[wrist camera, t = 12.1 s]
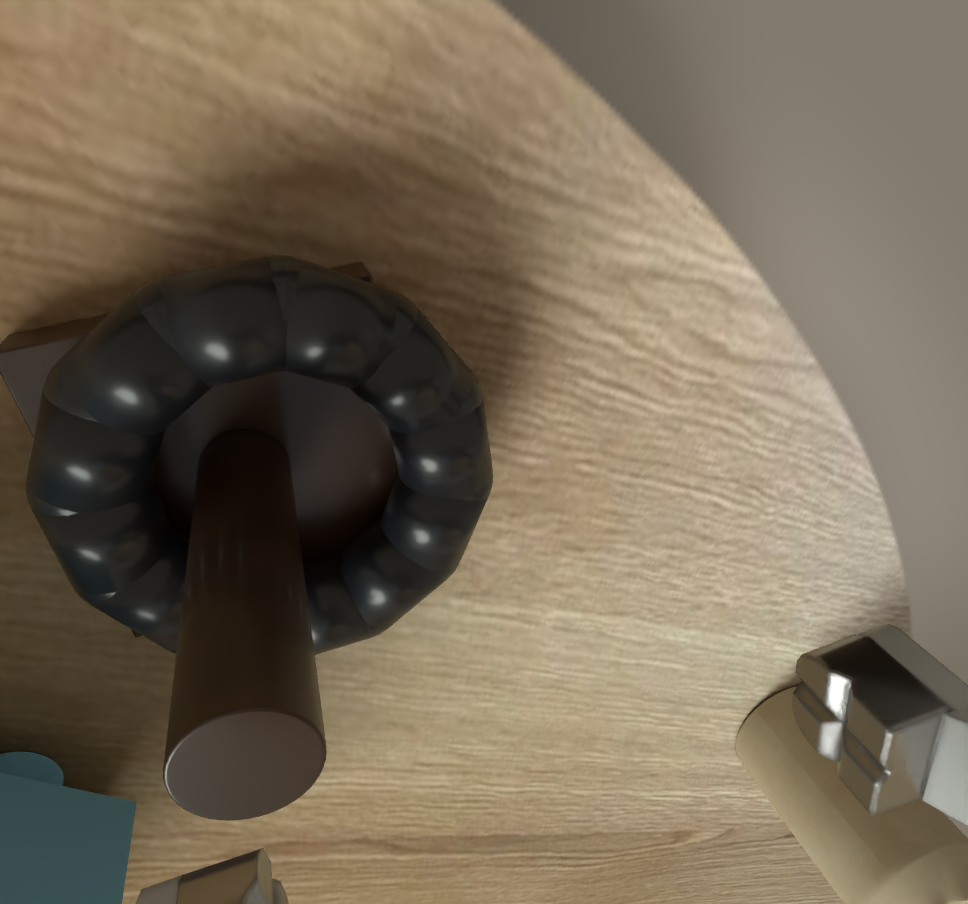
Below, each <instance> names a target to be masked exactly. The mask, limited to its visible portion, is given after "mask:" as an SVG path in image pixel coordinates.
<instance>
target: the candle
mask: <svg viewBox="0 0 968 904" xmlns="http://www.w3.org/2000/svg"><path fill="white" fill-rule="evenodd" d="M797 687H798V686H796V687H792V688H789V689H786V690H784V691H782V692H779V693H777V694H776V695H774V696H772V697H771V698H769V699H767V700H766V701H765V702H763V703H762V704H761V705H760V706H759V707H757V708H756V709H755V710H754V711H753V712H752V713H751V714H750V716H749V717H748V718H747V719H746V721H745V722H744V724H743V725H742V727H741V729H740V731H739V733H738V735H737V739H736V745H735V747H736V753H737V756H738V758H739V760H740V761H741V763H742V765H743V766H744V767H745V769H746V770H747V772H748V773H749V775H750V776H751V777H752V779H753V780H754V781H755V783H756V784H757V786H758V787H759V788H760V790H761V791H762V792H763V794H764V795H765V796H766V798H767V799H768V800H769V802H770V803H771V805H772V806H773V807H774V809H775V810H776V811H777V813H778V814H779V815H780V817H781V818H782V819H783V821H784V822H785V824H786V825H787V826H788V828H789V829H790V830H791V832H792V833H793V834H794V836H795V837H796V838H797V840H798V841H799V843H800V844H801V845H802V847H803V848H804V849H805V851H806V852H807V853H808V855H809V856H810V857H811V859H812V860H813V862H814V863H815V864H816V866H817V867H818V868H819V870H820V871H821V872H822V874H823V875H824V877H825V878H826V879H827V881H828V882H829V883H830V885H831V886H832V887H833V889H834V890H835V891H836V893H837V894H838V896H839V897H840V898H841V900H842V901H843V902H844V904H968V838H967V837H966V836H965V835H964V834H963V833H962V832H961V831H960V830H959V829H958V828H957V827H956V826H955V825H954V824H953V822H952V821H951V820H950V819H949V818H948V817H947V816H946V815H945V814H944V813H943V812H942V811H940V810H938V809H936V808H935V807H933V806H931V805H929V804H927V803H926V802H924V801H922V800H923V797H921V798H919V799H916V800H913V801H911V802H908V803H906V804H903V805H900V806H898V807H895V808H892V809H890V810H887V811H884V812H882V813H879V814H876V815H874V816H871V815H870V813H869V812H868V811H867V810H866V809H865V808H864V807H863V805H862V804H861V803H860V802H859V801H858V800H857V798H856V797H855V796H854V795H853V794H852V793H851V792H850V790H849V789H848V788H847V787H846V786H845V785H844V784H843V782H842V781H841V780H840V779H839V777H838V768H837V762H836V761H834V760H831V759H829V758H827V757H825V756H823V755H820V754H818V753H817V752H816V751H815V750H814V748H813V747H812V746H811V745H810V744H809V742H808V741H807V740H806V739H805V737H804V735H803V734H802V732H801V730H800V729H799V727H798V725H797V722H796V719H795V716H794V713H793V710H792V702H793V692H794V691H795V690H796V688H797Z"/></svg>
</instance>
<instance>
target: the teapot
mask: <svg viewBox="0 0 968 904" xmlns="http://www.w3.org/2000/svg"><path fill="white" fill-rule="evenodd" d="M63 781H64V776H63V772H62V770H61V768H60V767H59V766H58V764H57V763H55V762H54V761H53V760H52V759H50V758H48V757H46V756H43V755H40V754H37V753H31V752H8V753H3V754H0V904H122V898H123V891H124V884H125V878H126V871H127V864H128V857H129V850H130V843H131V836H132V829H133V823H134V816H135V809H136V802H134V801H130V800H125V799H121V798H116V797H112V796H107V795H102V794H98V793H93V792H88V791H84V790H79V789H74V788H70V787H65V786H63Z"/></svg>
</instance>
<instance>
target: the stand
mask: <svg viewBox="0 0 968 904" xmlns="http://www.w3.org/2000/svg"><path fill="white" fill-rule="evenodd" d="M329 269H331V270H334V271H337V272H340V273H343V274H346V275H349V276H352V277H355V278H358V279H361V280H364V281H367V282H370V283H373V281H372V276H371V274H370V273H369V271H368V270H367V268H366V267H365V265H364V264H363V262H357V263H353V264H348V265H343V266H338V267H333V268H329ZM108 315H109V314H106V315H101V316H97V317H92V318H87V319H82V320H77V321H72V322H68V323H63V324H58V325H53V326H48V327H43V328H39V329H34V330H29V331H24V332H19V333H14V334H10V335H8V336H7V337H6V338H5V340H4V341H3V342H2V343H1V344H0V373H1V375H2V377H3V379H4V381H5V383H6V385H7V387H8V388H9V390H10V392H11V394H12V396H13V398H14V400H15V402H16V404H17V406H18V408H19V410H20V412H21V414H22V416H23V418H24V420H25V422H26V424H27V426H28V428H29V430H30V432H31V434H32V436H33V438H34V435H35V430H36V424H37V419H38V413H39V408H40V403H41V397H42V392H43V387H44V384H45V381H46V378H47V376H48V374H49V372H50V370H51V369H52V367H53V366H54V365H55V364H56V363H57V362H58V360H59V359H60V358H62V357H63V356H64V355H65V354H66V353H67V352H68V351H69V350H70V349H71V348H72V347H74V346H75V345H76V344H77V343H78V342H79V341H80V340H81V339H82V338H83V337H85V336H86V335H87V334H88V333H89V332H90V331H91V330H92V329H93V328H94V327H96V326H97V325H98V324H99V323H100V322H101V321H102V320H103V319H104V318H105V317H106V316H108ZM397 475H398V469H397V464H396V459H395V455H394V450H393V445H392V440H391V436H390V431H389V427H388V426H387V425H386V424H385V423H384V422H383V421H382V420H381V419H380V418H379V417H378V416H377V415H376V414H375V413H374V412H373V411H372V410H371V409H370V408H369V407H368V406H367V405H366V404H365V403H364V402H363V401H362V400H361V399H360V398H359V397H358V396H357V395H356V394H355V393H354V392H353V391H352V390H351V389H350V388H348V387H344V386H340V385H336V384H333V383H329V382H325V381H321V380H318V379H314V378H310V377H306V376H303V375H299V374H295V373H291V372H288V371H280V372H275V373H271V374H266V375H262V376H257V377H253V378H248V379H244V380H239V381H235V382H230V383H226V384H221V385H217V386H213V387H212V388H211V389H210V390H209V391H207V392H206V393H205V394H204V395H203V396H202V397H201V398H200V399H198V400H197V401H196V402H195V403H194V404H193V405H192V406H191V407H189V408H188V409H187V410H186V411H185V412H184V413H183V414H182V415H180V416H179V417H178V418H177V419H176V420H175V421H174V422H173V423H171V424H170V425H169V426H168V427H167V428H166V429H165V432H164V436H163V440H162V444H161V448H160V452H159V455H158V459H157V463H156V467H155V471H154V475H153V479H152V481H153V484H154V486H155V489H156V491H157V494H158V496H159V498H160V501H161V503H162V506H163V508H164V510H165V513H166V515H167V518H168V520H169V522H170V525H171V527H172V529H174V530H175V531H177V532H178V533H180V534H181V535H182V536H184V537H185V538H187V539H188V540H189V547H188V556H187V565H186V574H185V583H184V591H183V600H182V609H181V618H180V626H179V635H178V644H177V653H176V661H175V670H174V679H173V688H172V696H171V705H170V714H169V723H168V731H167V740H166V749H165V758H164V766H163V779H164V784H165V786H166V789H167V791H168V793H169V795H170V796H171V797H172V799H173V800H174V801H175V802H176V803H177V804H178V805H179V806H181V807H182V808H183V809H185V810H187V811H189V812H191V813H193V814H195V815H198V816H201V817H205V818H209V819H216V820H242V819H250V818H254V817H259V816H262V815H266V814H269V813H271V812H274V811H276V810H279V809H281V808H283V807H285V806H287V805H289V804H290V803H292V802H293V801H295V800H296V799H298V798H299V797H300V796H302V795H303V794H304V793H305V792H306V791H307V790H308V789H310V787H311V786H312V785H313V784H314V783H315V781H316V780H317V778H318V777H319V775H320V773H321V771H322V769H323V767H324V763H325V760H326V753H327V751H326V740H325V732H324V725H323V717H322V709H321V701H320V693H319V686H318V678H317V670H316V662H315V654H314V647H313V639H312V631H311V623H310V615H309V608H308V600H307V592H306V584H305V576H304V569H303V564H304V563H307V562H311V561H315V560H318V559H322V558H325V557H329V556H333V555H336V554H339V553H340V552H341V551H343V550H344V549H345V548H346V547H347V546H348V545H350V544H351V543H352V542H353V541H354V540H356V539H357V538H358V537H359V536H360V535H361V534H363V533H364V532H365V531H366V530H367V529H368V528H370V527H371V526H372V525H373V524H374V523H376V522H377V521H378V520H379V519H380V518H381V517H382V514H383V511H384V509H385V506H386V504H387V501H388V498H389V496H390V493H391V491H392V488H393V485H394V483H395V480H396V478H397ZM131 630H132V629H131ZM132 632H133V634H134V636H135V637H140V636H142V635H140V634H139V633H137V632H135V631H134V630H132Z"/></svg>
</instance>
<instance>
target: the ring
mask: <svg viewBox="0 0 968 904" xmlns="http://www.w3.org/2000/svg"><path fill="white" fill-rule="evenodd" d="M280 371H288V372H291V373H295V374H299V375H303V376H306V377H310V378H314V379H318V380H321V381H325V382H329V383H333V384H336V385H340V386H344V387H348V388H350V389H351V390H352V391H353V392H354V393H355V394H356V395H357V396H358V397H359V398H360V399H361V400H362V401H363V402H364V403H365V404H366V405H367V406H368V407H369V408H370V409H371V410H372V411H373V412H374V413H375V414H376V415H377V416H378V417H379V418H380V419H381V420H382V421H383V422H384V423H385V424H386V425H387V426H388V427H389V431H390V436H391V440H392V445H393V450H394V455H395V459H396V464H397V469H398V475H397V478H396V480H395V483H394V485H393V488H392V491H391V493H390V496H389V498H388V501H387V504H386V506H385V509H384V511H383V514H382V517H381V518H380V519H379V520H378V521H377V522H376V523H374V524H373V525H372V526H371V527H370V528H368V529H367V530H366V531H365V532H364V533H363V534H361V535H360V536H359V537H358V538H357V539H356V540H354V541H353V542H352V543H351V544H350V545H348V546H347V547H346V548H345V549H344V550H343V551H341V552H340V553H339V554H336V555H333V556H329V557H325V558H322V559H318V560H315V561H311V562H307V563H304V564H303V569H304V576H305V584H306V592H307V600H308V608H309V615H310V623H311V631H312V639H313V647H314V654H315V655H316V654H319V653H322V652H326V651H329V650H332V649H336V648H339V647H342V646H346V645H349V644H352V643H355V642H359V641H362V640H365V639H369V638H372V637H374V636H377V635H379V634H381V633H382V632H384V631H385V630H387V629H388V628H389V627H390V626H392V625H393V624H394V623H395V622H396V621H398V620H399V619H400V618H401V617H402V616H404V615H405V614H406V613H407V612H408V611H410V610H411V609H412V608H413V607H414V606H416V605H417V604H418V603H419V602H420V601H422V600H423V599H424V598H425V597H426V596H428V595H429V594H430V593H431V592H432V591H434V590H435V589H436V588H437V587H438V586H440V585H441V584H442V583H443V582H444V581H446V580H447V579H448V578H449V577H450V576H451V575H452V574H453V573H454V571H455V570H456V568H457V567H458V565H459V563H460V561H461V558H462V556H463V554H464V551H465V549H466V547H467V545H468V542H469V540H470V538H471V535H472V533H473V531H474V529H475V526H476V524H477V522H478V519H479V517H480V515H481V512H482V510H483V508H484V506H485V503H486V501H487V499H488V496H489V494H490V491H491V488H492V483H493V469H492V461H491V454H490V447H489V439H488V432H487V424H486V417H485V410H484V402H483V395H482V391H481V387H480V385H479V382H478V380H477V378H476V377H475V375H474V374H473V372H472V371H471V370H470V368H469V367H468V366H467V365H466V364H465V363H464V361H463V360H462V359H461V358H460V357H459V356H458V354H457V353H456V352H455V351H454V350H453V349H452V347H451V346H450V345H449V344H448V343H447V342H446V340H445V339H444V338H443V337H442V336H441V335H440V333H439V332H438V331H437V330H436V329H435V328H434V327H433V325H432V324H431V323H430V322H429V321H428V320H427V318H426V317H425V316H424V315H423V314H422V313H421V311H420V310H419V309H418V308H417V307H416V306H415V305H414V304H413V303H412V302H411V301H410V300H409V299H408V298H406V297H404V296H403V295H402V294H400V293H398V292H395V291H393V290H390V289H387V288H384V287H381V286H378V285H376V284H373V283H370V282H367V281H364V280H361V279H358V278H355V277H352V276H349V275H346V274H343V273H340V272H337V271H334V270H331V269H328V268H325V267H322V266H319V265H316V264H313V263H310V262H307V261H304V260H301V259H298V258H294V257H290V256H280V255H279V256H268V257H264V258H258V259H253V260H248V261H242V262H237V263H232V264H227V265H221V266H216V267H211V268H205V269H200V270H195V271H190V272H184V273H179V274H174V275H168V276H163V277H159V278H156V279H153V280H151V281H149V282H146V283H145V284H143V285H142V286H140V287H139V288H138V289H137V290H135V291H134V292H133V293H132V294H131V295H130V296H128V297H127V298H126V299H125V300H124V301H123V302H122V303H121V304H120V305H119V306H117V307H116V308H115V309H114V310H113V311H112V312H111V313H110V314H109V315H108V316H106V317H105V318H104V319H103V320H102V321H101V322H100V323H99V324H98V325H97V326H96V327H94V328H93V329H92V330H91V331H90V332H89V333H88V334H87V335H86V336H85V337H83V338H82V339H81V340H80V341H79V342H78V343H77V344H76V345H75V346H74V347H72V348H71V349H70V350H69V351H68V352H67V353H66V354H65V355H64V356H63V357H62V358H60V359H59V360H58V362H57V363H56V364H55V365H54V366H53V367H52V369H51V370H50V372H49V374H48V376H47V378H46V381H45V384H44V387H43V392H42V397H41V403H40V408H39V413H38V419H37V424H36V430H35V435H34V440H33V446H32V451H31V456H30V462H29V467H28V473H27V479H26V493H27V499H28V502H29V505H30V507H31V509H32V511H33V513H34V515H35V517H36V519H37V521H38V523H39V525H40V527H41V528H42V530H43V532H44V534H45V536H46V538H47V540H48V542H49V544H50V546H51V547H52V549H53V551H54V553H55V555H56V557H57V559H58V561H59V563H60V565H61V566H62V568H63V570H64V572H65V574H66V576H67V578H68V580H69V582H70V584H71V585H72V587H73V589H74V590H75V591H76V593H77V594H78V595H79V596H80V597H81V598H82V599H83V600H84V601H85V602H87V603H88V604H90V605H91V606H93V607H95V608H96V609H98V610H100V611H101V612H103V613H105V614H107V615H108V616H110V617H112V618H113V619H115V620H117V621H118V622H120V623H122V624H124V625H125V626H127V627H129V628H130V629H132V630H134V631H135V632H137V633H139V634H140V635H142V636H144V637H146V638H147V639H149V640H151V641H152V642H154V643H156V644H157V645H159V646H161V647H163V648H164V649H166V650H168V651H171V652H173V653H177V644H178V635H179V626H180V618H181V609H182V600H183V591H184V583H185V574H186V565H187V556H188V547H189V540H188V539H187V538H185V537H184V536H182V535H181V534H180V533H178V532H177V531H175V530H174V529H172V527H171V525H170V522H169V520H168V518H167V515H166V513H165V510H164V508H163V506H162V503H161V501H160V498H159V496H158V494H157V491H156V489H155V486H154V484H153V481H152V479H153V475H154V471H155V467H156V463H157V459H158V455H159V452H160V448H161V444H162V440H163V436H164V432H165V429H166V428H167V427H168V426H169V425H170V424H171V423H173V422H174V421H175V420H176V419H177V418H178V417H179V416H180V415H182V414H183V413H184V412H185V411H186V410H187V409H188V408H189V407H191V406H192V405H193V404H194V403H195V402H196V401H197V400H198V399H200V398H201V397H202V396H203V395H204V394H205V393H206V392H207V391H209V390H210V389H211V388H212V387H213V386H217V385H221V384H226V383H230V382H235V381H239V380H244V379H248V378H253V377H257V376H262V375H266V374H271V373H275V372H280Z"/></svg>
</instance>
